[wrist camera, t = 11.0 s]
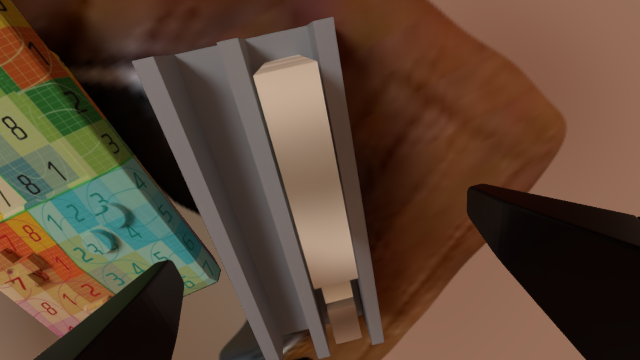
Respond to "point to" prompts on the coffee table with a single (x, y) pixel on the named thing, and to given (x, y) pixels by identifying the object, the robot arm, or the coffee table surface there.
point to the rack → (259, 177)
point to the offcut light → (337, 292)
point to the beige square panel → (308, 165)
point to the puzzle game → (75, 194)
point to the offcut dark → (344, 320)
